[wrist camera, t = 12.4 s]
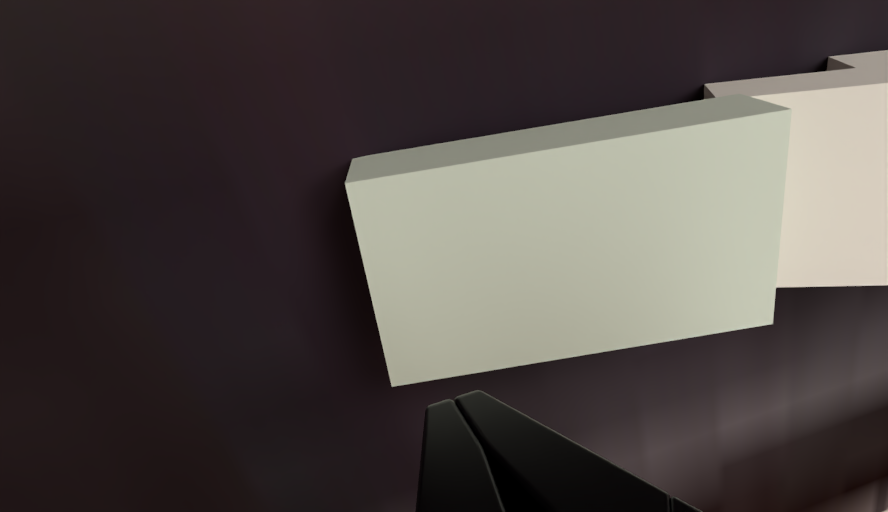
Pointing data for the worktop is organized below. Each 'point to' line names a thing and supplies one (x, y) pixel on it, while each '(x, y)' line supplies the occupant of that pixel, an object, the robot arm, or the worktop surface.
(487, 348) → the domino
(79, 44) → the worktop surface
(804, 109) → the domino
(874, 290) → the worktop surface
